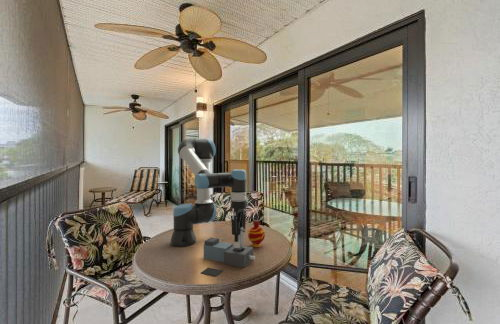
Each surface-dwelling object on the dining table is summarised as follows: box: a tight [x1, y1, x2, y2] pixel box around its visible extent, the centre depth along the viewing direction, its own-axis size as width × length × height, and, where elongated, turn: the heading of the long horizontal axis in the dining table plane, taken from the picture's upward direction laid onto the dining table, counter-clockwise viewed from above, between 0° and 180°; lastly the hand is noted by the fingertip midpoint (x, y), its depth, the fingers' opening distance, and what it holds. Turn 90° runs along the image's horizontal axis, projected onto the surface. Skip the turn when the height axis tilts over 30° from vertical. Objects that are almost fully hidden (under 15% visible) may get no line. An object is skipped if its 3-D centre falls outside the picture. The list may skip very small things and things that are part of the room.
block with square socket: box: [203, 236, 256, 268], centre depth 131 cm, size 27×11×9 cm, turn 66°
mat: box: [200, 267, 224, 277], centre depth 117 cm, size 8×6×1 cm
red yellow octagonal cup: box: [247, 219, 266, 248], centre depth 152 cm, size 10×10×15 cm
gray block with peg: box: [235, 226, 246, 252], centre depth 129 cm, size 3×6×14 cm, turn 66°
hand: (238, 246), depth 129 cm, fingers closed on gray block with peg, 3 cm apart
